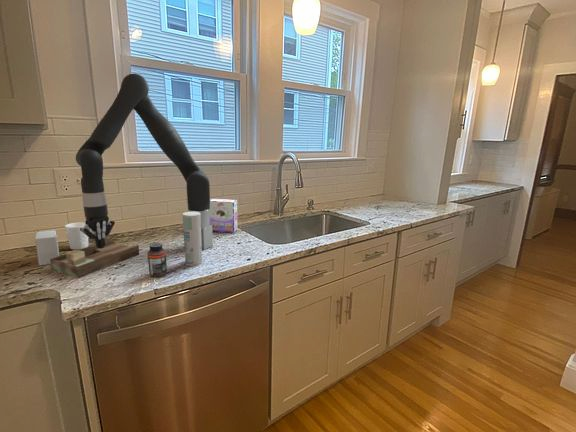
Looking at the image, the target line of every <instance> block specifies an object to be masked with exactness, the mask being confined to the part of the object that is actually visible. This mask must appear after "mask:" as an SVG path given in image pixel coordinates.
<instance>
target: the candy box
mask: <svg viewBox="0 0 576 432" xmlns="http://www.w3.org/2000/svg"><path fill="white" fill-rule="evenodd" d="M210 225H211V226H212V232H217V233H219V232H220V233H231V234H232V233H233V234H234V233H236V232H237V231H238V200H237V199H225V198H224V199H223V198H210Z"/></svg>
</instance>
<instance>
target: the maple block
mask: <svg viewBox="0 0 576 432" xmlns="http://www.w3.org/2000/svg"><path fill="white" fill-rule="evenodd" d="M65 254H66V257H67V263H68V264H71V265H74V266H75V265H78V264H81V263H84V262H86V260H85V253H84V251H81V249H76V250H74V249H73V250H72V251H68V252H66V253H65Z"/></svg>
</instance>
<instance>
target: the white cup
mask: <svg viewBox="0 0 576 432" xmlns="http://www.w3.org/2000/svg"><path fill="white" fill-rule="evenodd" d="M85 225H86V224H85V221H84V222H83V221H81V222H80V221H78V222H71V223H67V224H65V225H64V229H65V233H66V237H67V242H68V245H69V248H70V250H73V251H74V250H81V249H84V248H87V247H90V246H89V244H90V243H89V237H88V236H87V235H85V234H84V233H83V232H82V231H80V228H83V227H84V226H85Z"/></svg>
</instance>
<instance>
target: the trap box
mask: <svg viewBox="0 0 576 432" xmlns="http://www.w3.org/2000/svg"><path fill="white" fill-rule="evenodd" d="M80 250H81V251H84V253H85V260H86V262H84V263H81V264H78V265H75V266H74V265H71V264H68V263H67V257H66V253H65V254H63V255H59V256H58V257H55V258H52V259H50V262H51V264H50V269H51V270H52V271H55V272H59V273H61V274H65V275H68V276H70V277H74V278H77V279H80V278H83V277H86V276H88V275H90V274H94V273H95V272H98V271H101V270H103V269H106V268H108V267H111V266H114V265H116V264H119V263H121V262H124V261H126V260H129V259H131V258H134V257H137V256H139V255H140V248H139V245H135V246H128V245H124V244H120V243H116V242H115V239H111V240H108V241H105V247H104V248H101V249H100V248H98V247H96V244H95V245H91V246H88V247H86V248H83V249H80Z"/></svg>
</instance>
